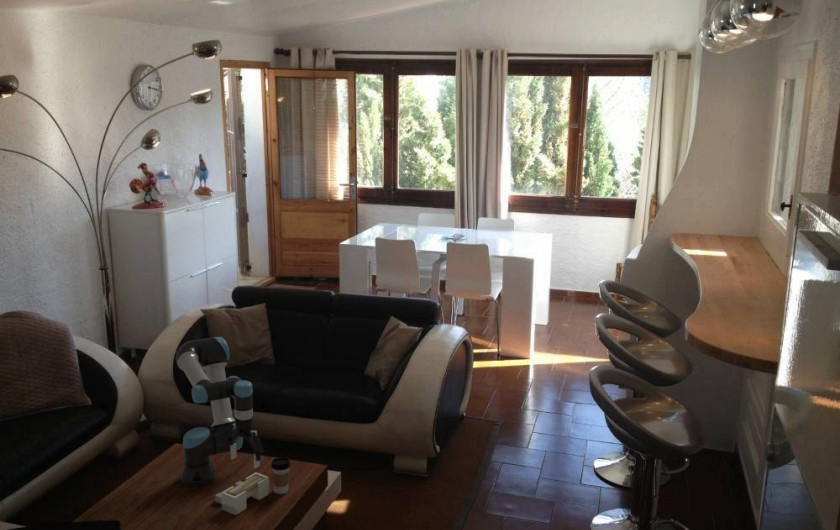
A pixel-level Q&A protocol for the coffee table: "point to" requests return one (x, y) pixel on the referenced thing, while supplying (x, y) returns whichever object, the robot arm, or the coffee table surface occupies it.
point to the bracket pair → (244, 495)
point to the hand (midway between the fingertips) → (245, 462)
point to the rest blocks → (218, 496)
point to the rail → (247, 487)
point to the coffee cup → (280, 474)
